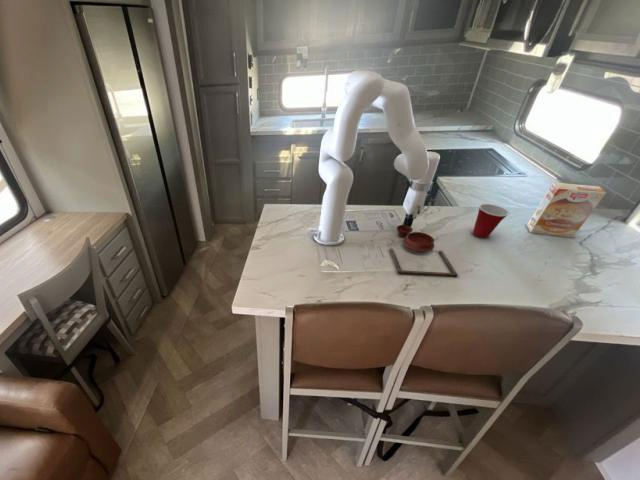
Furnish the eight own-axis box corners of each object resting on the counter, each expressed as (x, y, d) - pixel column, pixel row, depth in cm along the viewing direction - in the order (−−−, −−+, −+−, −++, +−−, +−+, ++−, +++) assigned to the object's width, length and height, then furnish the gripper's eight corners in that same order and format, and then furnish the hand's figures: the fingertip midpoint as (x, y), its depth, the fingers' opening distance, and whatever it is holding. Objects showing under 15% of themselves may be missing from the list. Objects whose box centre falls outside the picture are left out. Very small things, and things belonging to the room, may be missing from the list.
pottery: (411, 256, 126) (415, 247, 123) (386, 232, 141) (389, 223, 138) (438, 253, 127) (443, 243, 124) (410, 229, 142) (414, 220, 139)
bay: (398, 274, 118) (399, 271, 117) (389, 250, 130) (390, 248, 129) (456, 276, 115) (457, 274, 114) (441, 252, 127) (442, 250, 127)
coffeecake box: (530, 232, 136) (558, 188, 123) (526, 225, 141) (552, 181, 128) (573, 238, 131) (607, 192, 119) (567, 230, 136) (599, 185, 124)
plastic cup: (500, 242, 131) (515, 215, 124) (471, 240, 133) (484, 213, 125) (490, 229, 139) (503, 203, 131) (463, 228, 141) (475, 202, 133)
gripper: (405, 178, 135) (394, 218, 147) (415, 192, 123) (402, 234, 135) (424, 178, 133) (411, 218, 146) (436, 192, 122) (420, 234, 134)
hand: (406, 225), depth 140 cm, fingers closed
